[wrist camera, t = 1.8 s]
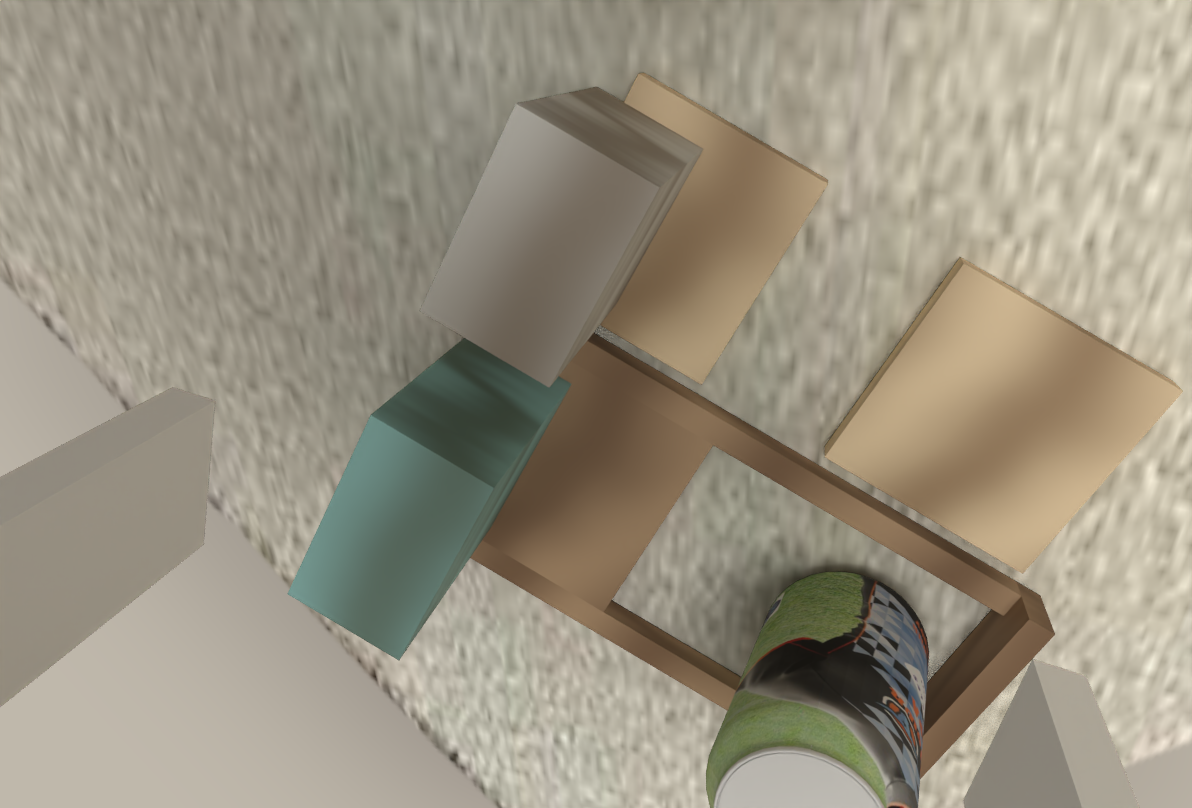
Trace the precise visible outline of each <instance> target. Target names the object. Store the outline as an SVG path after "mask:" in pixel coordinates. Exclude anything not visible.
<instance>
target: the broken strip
mask: <svg viewBox="0 0 1192 808" xmlns="http://www.w3.org/2000/svg"><path fill="white" fill-rule="evenodd" d="M827 185H828V180H827V179H825V178H824V177H822V176H820V175H819V174H817V173H815V172H813V171H812V170H810V169H808V168H807V167H805V166H803V165H801V164H800V163H798V162H796V161H795V160H793V159H791V158H789V157H788V156H786V155H784V154H783V153H781V152H779V151H777V150H776V149H774V148H772V147H771V146H769V145H767V144H765V143H764V142H762V141H760V140H759V139H757V138H755V137H753V136H752V135H750V134H748V133H747V132H745V131H743V130H741V129H740V128H738V127H736V126H735V125H733V124H731V123H729V122H728V121H726V120H724V119H723V118H721V117H719V116H717V115H716V114H714V113H712V112H711V111H709V110H707V109H705V108H704V107H702V106H700V105H699V104H697V103H695V102H693V101H692V100H690V99H688V98H687V97H685V96H683V95H681V94H680V93H678V92H676V91H675V90H673V89H671V88H669V87H668V86H666V85H664V84H663V83H661V82H659V81H657V80H656V79H654V78H652V77H651V76H649V75H647V74H645V73H639V74H638V75H637V77H636V79H635V81H634V83H633V85H632V87H631V89H630V91H629V93H628V95H627V97H626V99H625V101H624V102H622V101H621V100H619V99H617V98H616V97H614V96H612V95H610V94H609V93H607V92H605V91H604V90H602V89H600V88H598V87H593V88H588V89H584V90H579V91H574V92H569V93H564V94H559V95H554V96H550V97H545V98H540V99H535V100H530V101H525V102H520V103H516V104H515V106H514V109H513V111H512V113H511V115H510V117H509V119H508V121H507V124H506V126H505V128H504V130H503V132H502V134H501V136H500V139H499V141H498V143H497V145H496V147H495V149H494V152H493V154H492V156H491V158H490V160H489V162H488V164H487V167H486V169H485V171H484V173H483V175H482V177H481V179H480V182H479V184H478V186H477V188H476V190H475V192H474V194H473V197H472V199H471V201H470V203H469V205H468V207H467V210H466V212H465V214H464V216H463V218H462V220H461V222H460V225H459V227H458V229H457V231H456V233H455V235H454V237H453V240H452V242H451V244H450V246H449V248H448V250H447V252H446V255H445V257H444V259H443V261H442V263H441V265H440V267H439V270H438V272H437V274H436V276H435V278H434V280H433V283H432V285H431V287H430V289H429V291H428V293H427V295H426V298H425V300H424V302H423V304H422V306H421V308H420V310H419V311H420V312H422V313H423V314H425V315H427V316H428V317H430V318H432V319H434V320H435V321H437V322H439V323H440V324H442V325H444V326H445V327H447V328H449V329H451V330H452V331H454V332H456V333H457V334H459V335H461V336H462V337H464V338H466V339H467V340H469V341H471V342H473V343H474V344H476V345H478V346H479V347H481V348H483V349H484V350H486V351H488V352H490V353H491V354H493V355H495V356H496V357H498V358H500V359H501V360H503V361H505V362H506V363H508V364H510V365H512V366H513V367H515V368H517V369H518V370H520V371H522V372H523V373H525V374H527V375H529V376H530V377H532V378H534V379H535V380H537V381H539V382H540V383H542V384H544V385H545V386H547V387H549V388H550V386H551V385H552V384H553V383H554V381H555V380H556V379H557V378H558V376H559V375H560V374H561V373H562V371H563V370H564V369H565V368H566V366H567V365H568V364H569V363H570V361H571V360H572V359H573V358H574V356H575V355H576V354H577V353H578V351H579V350H580V349H581V348H582V346H583V345H584V344H585V343H586V341H587V340H588V339H589V338H590V336H591V335H592V334H593V333H594V331H595V330H596V329H597V328H598V326H599V325H601V326H602V327H604V328H606V329H608V330H609V331H611V332H613V333H614V334H616V335H618V336H619V337H621V338H623V339H625V340H626V341H628V342H630V343H631V344H633V345H635V346H636V347H638V348H640V349H642V350H643V351H645V352H647V353H648V354H650V355H652V356H653V357H655V358H657V359H659V360H660V361H662V362H664V363H665V364H667V365H669V366H670V367H672V368H674V369H676V370H677V371H679V372H681V373H682V374H684V375H686V376H687V377H689V378H691V379H693V380H694V381H696V382H698V383H699V384H701V385H702V383H703V382H704V380H705V379H706V377H707V375H708V374H709V372H710V371H711V369H712V367H713V366H714V364H715V363H716V361H717V360H718V358H719V356H720V355H721V353H722V352H723V350H724V348H725V347H726V345H727V344H728V342H729V340H730V339H731V337H732V336H733V334H734V332H735V331H736V329H737V328H738V326H739V325H740V323H741V321H742V320H743V318H744V317H745V315H746V313H747V312H748V310H749V309H750V307H751V305H752V304H753V302H754V301H755V299H756V298H757V296H758V294H759V293H760V291H761V290H762V288H763V286H764V285H765V283H766V282H767V280H768V278H769V277H770V275H771V274H772V272H773V271H774V269H775V267H776V266H777V264H778V263H779V261H780V259H781V258H782V256H783V255H784V253H785V251H786V250H787V248H788V247H789V245H790V244H791V242H792V240H793V239H794V237H795V236H796V234H797V232H798V231H799V229H800V228H801V226H802V224H803V223H804V221H805V220H806V218H807V216H808V215H809V213H810V212H811V210H812V209H813V207H814V205H815V204H816V202H817V201H818V199H819V197H820V196H821V194H822V193H823V191H824V189H825V188H826V186H827ZM1182 392H1183V391H1182V390H1181V389H1180V388H1179V387H1178V386H1177V385H1176V384H1175V383H1174V382H1173V381H1172V380H1170V379H1168V378H1167V377H1165V376H1163V375H1162V374H1160V373H1158V372H1156V371H1155V370H1153V369H1151V368H1150V367H1148V366H1146V365H1144V364H1143V363H1141V362H1139V361H1138V360H1136V359H1134V358H1132V357H1131V356H1129V355H1127V354H1126V353H1124V352H1122V351H1120V350H1119V349H1117V348H1115V347H1114V346H1112V345H1110V344H1108V343H1107V342H1105V341H1103V340H1102V339H1100V338H1098V337H1096V336H1095V335H1093V334H1091V333H1090V332H1088V331H1086V330H1084V329H1083V328H1081V327H1079V326H1078V325H1076V324H1074V323H1072V322H1071V321H1069V320H1067V319H1066V318H1064V317H1062V316H1060V315H1059V314H1057V313H1055V312H1054V311H1052V310H1050V309H1048V308H1047V307H1045V306H1043V305H1042V304H1040V303H1038V302H1036V301H1035V300H1033V299H1031V298H1030V297H1028V296H1026V295H1024V294H1023V293H1021V292H1019V291H1018V290H1016V289H1014V288H1012V287H1011V286H1009V285H1007V284H1006V283H1004V282H1002V281H1000V280H999V279H997V278H995V277H994V276H992V275H990V274H988V273H987V272H985V271H983V270H982V269H980V268H978V267H976V266H975V265H973V264H971V263H970V262H968V261H966V260H964V259H963V258H961V257H960V258H959V259H958V261H957V262H956V264H955V265H954V266H953V268H952V269H951V271H950V272H949V273H948V275H947V276H946V278H945V279H944V280H943V282H942V283H941V285H940V286H939V287H938V289H937V290H936V292H935V293H934V294H933V296H932V297H931V299H930V300H929V301H928V303H927V304H926V305H925V307H924V308H923V310H922V311H921V312H920V314H919V315H918V317H917V318H916V319H915V321H914V322H913V324H912V325H911V326H910V328H909V329H908V331H907V332H906V333H905V335H904V336H903V338H902V339H901V340H900V342H899V343H898V345H897V346H896V347H895V349H894V350H893V352H892V353H891V354H890V356H889V357H888V359H887V360H886V361H885V363H884V364H883V366H882V367H881V368H880V370H879V371H878V373H877V374H876V375H875V377H874V378H873V380H872V381H871V382H870V384H869V385H868V387H867V388H866V389H865V391H864V392H863V394H862V395H861V396H860V398H859V399H858V401H857V402H856V403H855V405H854V406H853V407H852V409H851V410H850V412H849V413H848V414H847V416H846V417H845V419H844V420H843V421H842V423H841V424H840V426H839V427H838V428H837V430H836V431H835V433H834V434H833V435H832V437H831V438H830V440H829V441H828V442H827V444H826V445H825V458H827V459H829V460H830V461H832V462H834V463H835V464H837V465H839V466H841V467H842V468H844V469H846V470H847V471H849V472H851V473H852V474H854V475H856V476H858V477H859V478H861V479H863V480H864V481H866V482H868V483H869V484H871V485H873V486H875V487H876V488H878V489H880V490H881V491H883V492H885V493H886V494H888V495H890V496H892V497H893V498H895V499H897V500H898V501H900V502H902V503H903V504H905V505H907V506H909V507H910V508H912V509H914V510H915V511H917V512H919V513H920V514H922V515H924V516H926V517H927V518H929V519H931V520H932V521H934V522H936V523H937V524H939V525H941V526H943V527H944V528H946V529H948V530H949V531H951V532H953V533H954V534H956V535H958V536H960V537H961V538H963V539H965V540H966V541H968V542H970V543H971V544H973V545H975V546H977V547H978V548H980V549H982V550H983V551H985V552H987V553H988V554H990V555H992V556H994V557H995V558H997V559H999V560H1000V561H1002V562H1004V563H1005V564H1007V565H1009V566H1011V567H1012V568H1014V569H1016V570H1017V571H1019V572H1021V573H1022V574H1023V573H1024V571H1025V570H1026V569H1027V568H1028V567H1029V566H1030V565H1031V564H1032V562H1033V561H1034V560H1035V559H1036V558H1037V557H1038V556H1039V554H1040V553H1041V552H1042V551H1043V550H1044V549H1045V548H1046V547H1047V545H1048V544H1049V543H1050V542H1051V541H1052V540H1053V539H1054V537H1055V536H1056V535H1057V534H1058V533H1059V532H1060V531H1061V529H1062V528H1063V527H1064V526H1065V525H1066V524H1067V523H1068V522H1069V520H1070V519H1071V518H1072V517H1073V516H1074V515H1075V514H1076V512H1077V511H1078V510H1079V509H1080V508H1081V507H1082V506H1083V505H1084V503H1085V502H1086V501H1087V500H1088V499H1089V498H1090V497H1091V495H1092V494H1093V493H1094V492H1095V491H1096V490H1097V489H1098V487H1099V486H1100V485H1101V484H1102V483H1103V482H1104V481H1105V480H1106V478H1107V477H1108V476H1109V475H1110V474H1111V473H1112V472H1113V470H1114V469H1115V468H1116V467H1117V466H1118V465H1119V464H1120V463H1121V461H1122V460H1123V459H1124V458H1125V457H1126V456H1127V455H1128V453H1129V452H1130V451H1131V450H1132V449H1133V448H1134V447H1135V446H1136V444H1137V443H1138V442H1139V441H1140V440H1141V439H1142V438H1143V436H1144V435H1145V434H1146V433H1147V432H1148V431H1149V430H1150V428H1151V427H1152V426H1153V425H1154V424H1155V423H1156V422H1157V421H1158V419H1159V418H1160V417H1161V416H1162V415H1163V414H1164V413H1165V411H1166V410H1167V409H1168V408H1169V407H1170V406H1171V405H1172V404H1173V402H1174V401H1175V400H1176V399H1177V398H1178V397H1179V396H1180V394H1181V393H1182Z"/></svg>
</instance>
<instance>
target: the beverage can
mask: <svg viewBox="0 0 1192 808" xmlns="http://www.w3.org/2000/svg"><path fill="white" fill-rule="evenodd" d="M928 660H929V649H928V642H927V637H926V634H925V631H924V629H923V626H922V624H921V622H920V620H919V618H918V617H917V615H916V613H915V612H914V611H913V609H912V608H911V607H910V606H909V604H908V603H907V602H906V601H905V600H904V599H903V598H902V597H900V596H899V595H898V594H897V593H896V592H895V591H893V590H892V589H890V588H889V587H887V586H885V585H884V584H882V583H880V582H878V581H876V580H873V579H871V578H869V577H866V576H862V575H858V574H854V573H847V572H824V573H820V574H815V575H811V576H808V577H806V578H803V579H801V580H798V581H797V582H795V583H794V584H792V585H791V586H789V587H788V588H786V589H785V590H784V591H783V592H782V593H781V594H780V595H779V596H778V597H777V599H776V600H775V602H774V603H773V605H772V606H771V608H770V610H769V613H768V615H767V617H766V620H765V622H764V625H763V627H762V629H761V632H760V634H759V637H758V639H757V641H756V644H755V646H754V649H753V651H752V653H751V656H750V658H749V661H748V663H747V666H746V668H745V670H744V673H743V675H742V678H741V680H740V682H739V685H738V687H737V690H736V692H735V694H734V697H733V699H732V702H731V704H730V706H729V709H728V711H727V714H726V716H725V718H724V721H723V723H722V726H721V728H720V730H719V733H718V735H717V738H716V740H715V742H714V745H713V747H712V750H711V752H710V755H709V759H708V764H707V770H706V790H707V795H708V800H709V805H710V808H918V799H919V785H920V772H921V758H922V744H923V730H924V717H925V703H926V689H927V675H928Z"/></svg>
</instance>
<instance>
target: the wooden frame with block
mask: <svg viewBox="0 0 1192 808" xmlns="http://www.w3.org/2000/svg"><path fill="white" fill-rule="evenodd" d="M713 445H714V446H716V447H717V448H719V449H721V450H722V451H724V452H726V453H727V454H729V455H731V456H733V457H734V458H736V459H738V460H739V461H741V462H743V463H744V464H746V465H748V466H750V467H751V468H753V469H755V470H756V471H758V472H760V473H761V474H763V475H765V476H767V477H768V478H770V479H772V480H773V481H775V482H777V483H778V484H780V485H782V486H784V487H785V488H787V489H789V490H790V491H792V492H794V493H795V494H797V495H799V496H800V497H802V498H804V499H806V500H807V501H809V502H811V503H812V504H814V505H816V506H817V507H819V508H821V509H823V510H824V511H826V512H828V513H829V514H831V515H833V516H834V517H836V518H838V519H840V520H841V521H843V522H845V523H846V524H848V525H850V526H851V527H853V528H855V529H857V530H858V531H860V532H862V533H863V534H865V535H867V536H868V537H870V538H872V539H873V540H875V541H877V542H879V543H880V544H882V545H884V546H885V547H887V548H889V549H890V550H892V551H894V552H896V553H897V554H899V555H901V556H902V557H904V558H906V559H907V560H909V561H911V562H913V563H914V564H916V565H918V566H919V567H921V568H923V569H924V570H926V571H928V572H930V573H931V574H933V575H935V576H936V577H938V578H940V579H941V580H943V581H945V582H946V583H948V584H950V585H952V586H953V587H955V588H957V589H958V590H960V591H962V592H963V593H965V594H967V595H969V596H970V597H972V598H974V599H975V600H977V601H979V602H980V603H982V604H984V605H986V606H987V607H989V608H991V609H992V610H991V611H990V612H989V613H988V615H987V616H986V617H985V618H984V619H983V620H982V621H981V623H980V624H979V625H978V626H977V627H976V628H975V629H974V631H973V632H972V633H971V634H970V635H969V636H968V637H967V638H966V640H965V641H964V642H963V643H962V644H961V645H960V646H959V648H958V649H957V650H956V651H955V652H954V653H953V654H952V655H951V657H950V658H949V659H948V660H947V661H946V662H945V663H944V665H943V666H942V667H941V668H940V669H939V670H938V671H937V672H936V674H935V675H934V676H933V677H932V678H931V679H930V680H929V682H928V683H927V689H926V703H925V717H924V730H923V744H922V758H921V772H920V779H921V778H922V777H923V776H924V774H925V773H926V772H927V771H928V770H929V769H930V768H931V767H932V766H933V765H934V764H935V763H936V762H937V761H938V759H939V758H940V757H941V756H942V755H943V754H944V753H945V752H946V751H947V750H948V749H949V748H950V747H951V745H952V744H953V743H954V742H955V741H956V740H957V739H958V738H959V737H960V736H961V735H962V734H963V733H964V732H965V730H966V729H967V728H968V727H969V726H970V725H971V724H972V723H973V722H974V721H975V720H976V719H977V718H978V717H979V715H980V714H981V713H982V712H983V711H984V710H985V709H986V708H987V707H988V706H989V705H990V704H991V703H992V702H993V700H994V699H995V698H996V697H997V696H998V695H999V694H1000V693H1001V692H1002V691H1003V690H1004V689H1005V688H1006V686H1007V685H1008V684H1009V683H1010V682H1011V681H1012V680H1013V679H1014V678H1015V677H1016V676H1017V675H1018V674H1019V673H1020V671H1021V670H1022V669H1023V668H1024V667H1025V666H1026V665H1027V664H1028V663H1029V662H1030V661H1031V660H1032V659H1033V658H1034V656H1035V655H1036V654H1037V653H1038V652H1039V651H1040V650H1041V649H1042V648H1043V647H1044V646H1045V645H1046V644H1047V642H1048V641H1049V640H1050V639H1051V638H1052V637H1053V636H1054V635H1055V633H1054V630H1053V628H1052V625H1051V622H1050V620H1049V617H1048V614H1047V612H1046V609H1045V607H1044V604H1043V601H1042V599H1041V596H1040V595H1038V594H1036V593H1035V592H1033V591H1031V590H1030V589H1028V588H1026V587H1024V586H1023V585H1021V584H1019V583H1018V582H1016V581H1014V580H1013V579H1011V578H1009V577H1007V576H1006V575H1004V574H1002V573H1001V572H999V571H997V570H996V569H994V568H992V567H990V566H989V565H987V564H985V563H984V562H982V561H980V560H979V559H977V558H975V557H973V556H972V555H970V554H968V553H967V552H965V551H963V550H962V549H960V548H958V547H956V546H955V545H953V544H951V543H950V542H948V541H946V540H945V539H943V538H941V537H939V536H938V535H936V534H934V533H933V532H931V531H929V530H928V529H926V528H924V527H922V526H921V525H919V524H917V523H916V522H914V521H912V520H911V519H909V518H907V517H905V516H904V515H902V514H900V513H899V512H897V511H895V510H894V509H892V508H890V507H888V506H887V505H885V504H883V503H882V502H880V501H878V500H877V499H875V498H873V497H871V496H870V495H868V494H866V493H865V492H863V491H861V490H860V489H858V488H856V487H854V486H853V485H851V484H849V483H848V482H846V481H844V480H843V479H841V478H839V477H837V476H836V475H834V474H832V473H831V472H829V471H827V470H826V469H824V468H822V467H820V466H819V465H817V464H815V463H814V462H812V461H810V460H809V459H807V458H805V457H803V456H802V455H800V454H798V453H797V452H795V451H793V450H792V449H790V448H788V447H786V446H785V445H783V444H781V443H780V442H778V441H776V440H775V439H773V438H771V437H769V436H768V435H766V434H764V433H763V432H761V431H759V430H758V429H756V428H754V427H752V426H751V425H749V424H747V423H746V422H744V421H742V420H741V419H739V418H737V417H735V416H734V415H732V414H730V413H729V412H727V411H725V410H724V409H722V408H720V407H718V406H717V405H715V404H713V403H712V402H710V401H708V400H707V399H705V398H703V397H701V396H700V395H698V394H696V393H695V392H693V391H691V390H690V389H688V388H686V387H684V386H683V385H681V384H679V383H678V382H676V381H674V380H673V379H671V378H669V377H667V376H666V375H664V374H662V373H661V372H659V371H657V370H656V369H654V368H652V367H650V366H649V365H647V364H645V363H644V362H642V361H640V360H639V359H637V358H635V357H633V356H632V355H630V354H628V353H627V352H625V351H623V350H622V349H620V348H618V347H616V346H615V345H613V344H611V343H610V342H608V341H606V340H605V339H603V338H601V337H599V336H598V335H596V334H594V333H593V334H592V335H591V336H590V338H589V339H588V340H587V341H586V343H585V344H584V345H583V346H582V348H581V349H580V350H579V351H578V353H577V354H576V355H575V356H574V358H573V359H572V360H571V361H570V363H569V364H568V365H567V366H566V368H565V369H564V370H563V371H562V373H561V374H560V375H559V376H558V378H557V379H556V380H555V381H554V383H553V384H552V385H551V386H550V388H549V387H547V386H545V385H544V384H542V383H540V382H539V381H537V380H535V379H534V378H532V377H530V376H529V375H527V374H525V373H523V372H522V371H520V370H518V369H517V368H515V367H513V366H512V365H510V364H508V363H506V362H505V361H503V360H501V359H500V358H498V357H496V356H495V355H493V354H491V353H490V352H488V351H486V350H484V349H483V348H481V347H479V346H478V345H476V344H474V343H473V342H471V341H469V340H467V339H466V338H464V339H463V340H462V341H460V342H459V343H458V344H457V345H455V346H454V347H453V348H452V349H451V350H449V351H448V352H447V353H446V354H445V355H443V356H442V357H441V358H440V359H438V360H437V361H436V362H435V363H434V364H432V365H431V366H430V367H429V368H427V369H426V370H425V371H424V372H423V373H421V374H420V375H419V376H418V377H417V378H415V379H414V380H413V381H412V382H410V383H409V384H408V385H407V386H406V387H404V388H403V389H402V390H401V391H400V392H398V393H397V394H396V395H395V396H393V397H392V398H391V399H390V400H389V401H387V402H386V403H385V404H384V405H382V406H381V407H380V408H379V409H378V410H376V411H375V412H374V413H373V414H372V415H371V416H370V418H369V420H368V422H367V424H366V426H365V429H364V431H363V433H362V435H361V437H360V439H359V441H358V444H357V446H356V448H355V450H354V452H353V454H352V456H351V459H350V461H349V463H348V465H347V467H346V469H345V472H344V474H343V476H342V478H341V480H340V482H339V484H338V487H337V489H336V491H335V493H334V495H333V497H332V499H331V502H330V504H329V506H328V508H327V510H326V512H325V514H324V517H323V519H322V521H321V523H320V525H319V527H318V529H317V532H316V534H315V536H314V538H313V540H312V542H311V545H310V547H309V549H308V551H307V553H306V555H305V557H304V560H303V562H302V564H301V566H300V568H299V570H298V572H297V575H296V577H295V579H294V581H293V583H292V585H291V587H290V590H289V592H288V595H290V596H292V597H293V598H295V599H297V600H299V601H300V602H302V603H303V604H305V605H307V606H308V607H310V608H312V609H314V610H315V611H317V612H319V613H320V614H322V615H324V616H325V617H327V618H329V619H330V620H332V621H334V622H335V623H337V624H339V625H340V626H342V627H344V628H345V629H347V630H349V631H350V632H352V633H354V634H355V635H357V636H359V637H360V638H362V639H364V640H366V641H367V642H369V643H371V644H372V645H374V646H376V647H377V648H379V649H381V650H382V651H384V652H386V653H387V654H389V655H391V656H392V657H394V658H396V659H397V660H400V658H401V657H402V655H403V654H404V652H405V651H406V650H407V648H408V647H409V645H410V644H411V642H412V641H413V639H414V638H415V637H416V635H417V634H418V632H419V631H420V629H421V628H422V626H423V625H424V624H425V622H426V621H427V619H428V618H429V616H430V615H431V613H432V612H433V611H434V609H435V608H436V606H437V605H438V603H439V602H440V600H441V599H442V598H443V596H444V595H445V593H446V592H447V590H448V589H449V587H450V586H451V584H452V583H453V582H454V580H455V579H456V577H457V576H458V574H459V573H460V571H461V570H462V569H463V567H464V566H465V564H466V563H467V561H468V560H469V558H471V559H473V560H475V561H477V562H478V563H480V564H482V565H483V566H485V567H487V568H488V569H490V570H492V571H493V572H495V573H497V574H498V575H500V576H502V577H503V578H505V579H507V580H509V581H510V582H512V583H514V584H515V585H517V586H519V587H520V588H522V589H524V590H525V591H527V592H529V593H530V594H532V595H534V596H535V597H537V598H539V599H541V600H542V601H544V602H546V603H547V604H549V605H551V606H552V607H554V608H556V609H557V610H559V611H561V612H562V613H564V614H566V615H567V616H569V617H571V618H573V619H574V620H576V621H578V622H579V623H581V624H583V625H584V626H586V627H588V628H589V629H591V630H593V631H594V632H596V633H598V634H600V635H601V636H603V637H605V638H606V639H608V640H610V641H611V642H613V643H615V644H616V645H618V646H620V647H621V648H623V649H625V650H626V651H628V652H630V653H632V654H633V655H635V656H637V657H638V658H640V659H642V660H643V661H645V662H647V663H648V664H650V665H652V666H653V667H655V668H657V669H658V670H660V671H662V672H664V673H665V674H667V675H669V676H670V677H672V678H674V679H675V680H677V681H679V682H680V683H682V684H684V685H685V686H687V687H689V688H690V689H692V690H694V691H696V692H697V693H699V694H701V695H702V696H704V697H706V698H707V699H709V700H711V701H712V702H714V703H716V704H717V705H719V706H721V707H722V708H724V709H726V710H728V709H729V706H730V704H731V702H732V699H733V697H734V694H735V692H736V690H737V687H738V685H739V682H740V680H741V677H740V676H738V675H736V674H734V673H733V672H731V671H729V670H728V669H726V668H724V667H723V666H721V665H719V664H718V663H716V662H714V661H713V660H711V659H709V658H707V657H706V656H704V655H702V654H701V653H699V652H697V651H696V650H694V649H692V648H691V647H689V646H687V645H686V644H684V643H682V642H680V641H679V640H677V639H675V638H674V637H672V636H670V635H669V634H667V633H665V632H664V631H662V630H660V629H659V628H657V627H655V626H654V625H652V624H650V623H648V622H647V621H645V620H643V619H642V618H640V617H638V616H637V615H635V614H633V613H632V612H630V611H628V610H627V609H625V608H623V607H621V606H620V605H618V604H616V603H615V602H613V601H611V600H612V599H613V597H614V596H615V594H616V592H617V591H618V589H619V588H620V586H621V585H622V583H623V582H624V580H625V579H626V577H627V576H628V574H629V573H630V571H631V570H632V568H633V567H634V565H635V563H636V562H637V560H638V559H639V557H640V556H641V554H642V553H643V551H644V550H645V548H646V547H647V545H648V544H649V542H650V541H651V539H652V538H653V536H654V534H655V533H656V531H657V530H658V528H659V527H660V525H661V524H662V522H663V521H664V519H665V518H666V516H667V515H668V513H669V512H670V510H671V509H672V507H673V506H674V504H675V502H676V501H677V499H678V498H679V496H680V495H681V493H682V492H683V490H684V489H685V487H686V486H687V484H688V483H689V481H690V480H691V478H692V477H693V475H694V473H695V472H696V470H697V469H698V467H699V466H700V464H701V463H702V461H703V460H704V458H705V457H706V455H707V454H708V452H709V451H710V449H711V448H712V446H713Z"/></svg>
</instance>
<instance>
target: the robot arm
mask: <svg viewBox="0 0 1192 808" xmlns="http://www.w3.org/2000/svg"><path fill="white" fill-rule="evenodd" d="M214 411H215V400H212V399H209V398H206V397H203V396H199V395H196V394H193V393H190V392H187V391H184V390H180V389H177V388H174V387H172V388H170V389H168V390H166V391H164V392H162V393H160V394H159V395H157V396H155V397H153V398H151V399H149V400H147V401H145V402H143V403H141V404H139V405H137V406H136V407H134V408H132V409H130V410H128V411H126V412H124V413H122V414H120V415H118V416H117V417H114V418H113V419H111V420H109V421H107V422H105V423H103V424H101V425H99V426H97V427H95V428H93V429H91V430H90V431H88V432H86V433H84V434H82V435H80V436H78V437H76V438H74V439H72V440H70V441H68V442H67V443H65V444H63V445H61V446H59V447H57V448H55V449H53V450H51V451H49V452H47V453H45V454H44V455H42V456H40V457H38V458H36V459H34V460H33V461H30V462H28V463H26V464H24V465H22V466H21V467H19V468H17V469H15V470H13V471H11V472H9V473H7V474H5V475H3V476H1V477H0V707H1V706H2V705H4V704H5V703H6V702H7V701H9V700H10V699H11V698H12V697H14V696H15V695H16V694H17V693H19V692H20V691H21V690H22V689H24V688H25V687H26V686H27V685H29V684H30V683H31V682H32V681H34V680H35V679H36V678H37V677H39V676H40V675H41V674H42V673H43V672H45V671H46V670H47V669H49V668H50V667H51V666H52V665H54V664H55V663H56V662H57V661H59V660H60V659H61V658H62V657H64V656H65V655H66V654H67V653H69V652H70V651H71V650H72V649H74V648H75V647H76V646H77V645H79V644H80V643H81V642H82V641H84V640H85V639H86V638H87V637H89V636H90V635H91V634H92V633H94V632H95V631H96V630H97V629H98V628H100V627H101V626H102V625H103V624H105V623H106V622H107V621H109V620H110V619H111V618H112V617H114V616H115V615H116V614H117V613H119V612H120V611H121V610H122V609H124V608H125V607H126V606H127V605H129V604H130V603H131V602H132V601H134V600H135V599H136V598H137V597H139V596H140V595H141V594H142V593H144V592H145V591H146V590H147V589H149V588H150V587H151V586H152V585H154V584H155V583H156V582H157V581H159V580H160V579H161V578H162V577H164V576H165V575H166V574H167V573H168V572H170V571H171V570H172V569H174V568H175V567H176V566H177V565H179V564H180V563H181V562H182V561H184V560H185V559H186V558H187V557H189V556H190V555H191V554H192V553H194V552H195V551H196V550H198V549H199V548H200V547H201V546H202V545H204V534H205V522H206V509H207V498H208V485H209V473H210V461H211V448H212V436H213V424H214ZM963 801H964V806H965V808H1140V807H1139V805H1138V802H1137V800H1136V797H1135V795H1134V792H1133V790H1132V787H1131V785H1130V782H1129V780H1128V777H1127V775H1126V773H1125V770H1124V768H1123V765H1122V763H1121V760H1120V758H1119V755H1118V753H1117V750H1116V748H1115V746H1114V743H1113V741H1112V738H1111V736H1110V733H1109V731H1108V728H1107V726H1106V723H1105V721H1104V719H1103V716H1102V714H1101V711H1100V709H1099V706H1098V704H1097V701H1096V699H1095V696H1094V694H1093V692H1092V689H1091V687H1090V684H1089V682H1088V679H1087V677H1086V676H1085V675H1082V674H1079V673H1076V672H1073V671H1069V670H1066V669H1063V668H1060V667H1057V666H1054V665H1050V664H1047V663H1044V662H1041V661H1038V660H1035V659H1032V661H1031V663H1030V665H1029V667H1028V669H1027V671H1026V674H1025V676H1024V678H1023V680H1022V682H1021V684H1020V686H1019V688H1018V690H1017V692H1016V694H1015V696H1014V698H1013V700H1012V702H1011V704H1010V706H1009V708H1008V710H1007V712H1006V714H1005V716H1004V718H1003V720H1002V722H1001V724H1000V726H999V729H998V731H997V733H996V735H995V737H994V739H993V741H992V743H991V745H990V747H989V749H988V751H987V753H986V755H985V757H984V759H983V761H982V763H981V765H980V767H979V769H978V771H977V773H976V775H975V777H974V779H973V781H972V784H971V786H970V788H969V790H968V792H967V794H966V796H965V798H964V800H963Z"/></svg>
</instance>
